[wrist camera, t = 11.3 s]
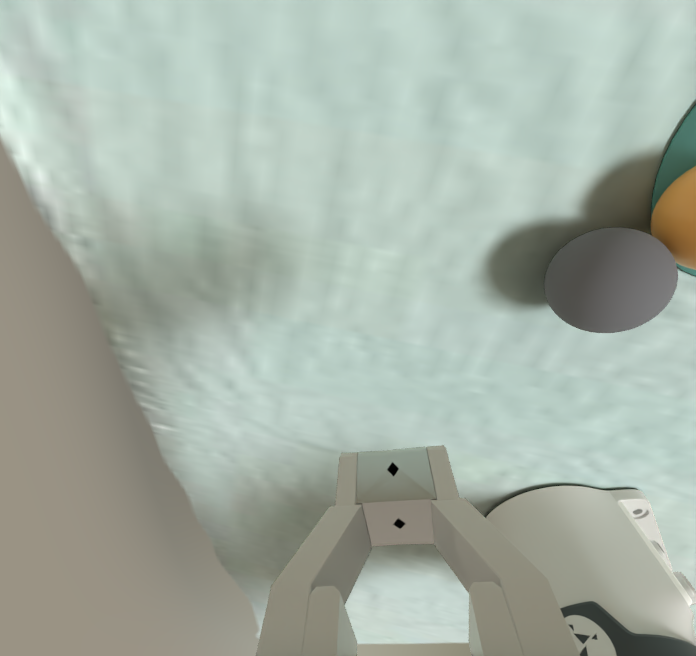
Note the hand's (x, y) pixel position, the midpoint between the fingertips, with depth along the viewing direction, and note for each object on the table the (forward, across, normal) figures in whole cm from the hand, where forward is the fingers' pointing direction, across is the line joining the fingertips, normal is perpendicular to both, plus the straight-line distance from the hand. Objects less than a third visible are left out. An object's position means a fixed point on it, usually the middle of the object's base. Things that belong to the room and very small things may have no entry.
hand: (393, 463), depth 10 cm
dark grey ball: (+12, -13, +1) cm, 18 cm away
